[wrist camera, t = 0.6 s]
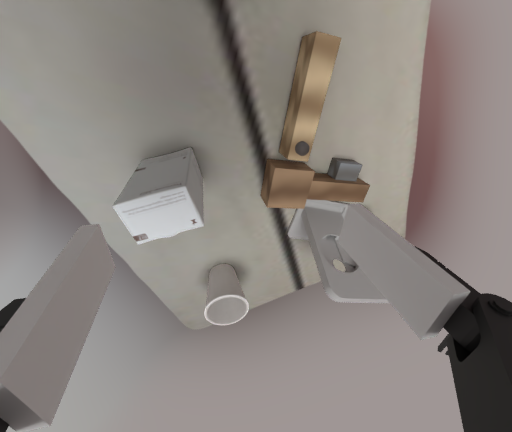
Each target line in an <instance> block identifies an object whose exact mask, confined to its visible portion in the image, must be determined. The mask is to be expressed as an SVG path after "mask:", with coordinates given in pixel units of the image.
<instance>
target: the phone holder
mask: <svg viewBox="0 0 512 432" xmlns="http://www.w3.org/2000/svg"><path fill="white" fill-rule="evenodd" d="M347 208H348V204H347V203H342V202H337V201H328V200H310V199H307V201H306V204H305V207H304V209H296V211H295V213H294V216H293V218H292V221H291V223H290V225H289V228H288V233H287V234H288V236H289V237H290V238H295V239H303V240H309V242H310V245H311V248H312V252H313V255H314V258H315V262H316V265H317V268H318V271H319V275H320V278H321V281H322V284H323V288H324V290H325V292H326V294H327V295H328V297H329V298H331V299H332V300H333V301H336V302H356V303H389V302H388V300H387V299H386V298H385V297H384V296H383V294H382V293H381V292H380V291H379V290H378V289H377V287H376V286H375V285H374V284H373V283H372V281H371V280H370V279H369V278H368V277H367V275H366V274H365V273H364V272H363V271H362V270H361V268H360V267H359V266H358V265H357V264H356V262H355V261H354V260H353V259H352V258H351V257H350V255H349V254H348V253H347V252H346V251H345V249H344V248H343V247H342V246H341V245H340V243H339V242H338V239H339V236H340V232H341V229H342V225H343V222H344V218H345V215H346V211H347ZM366 209H367V208H366ZM334 259H337V260H339V261H341V262H342V263H343V264H344V266H345V268H346V271H345V272H342V271H340V270H338V269H336V268H335V267H334V265H333V260H334Z"/></svg>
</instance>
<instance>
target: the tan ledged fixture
mask: <svg viewBox="0 0 512 432" xmlns="http://www.w3.org/2000/svg"><path fill="white" fill-rule="evenodd" d="M361 168H362V165H361V164H359V163H357V162H356V161H354V160H347V159H338V158H332V161H331V164H330V167H329V170H328V173H327V174H321V173H315V171H314V170H313V169H311V168H310V167H309V166H307V165H306V164H305V163H303V162H293V161H283V160H273V159H267V163H266V168H265V174H264V179H263V184H262V190H261V197H262V199H263V201H264V203H265V204H266V206H267V207H272V208H296V209H304V207H305V204H306V201H307V199H310V200H328V201H347V202H363V201H364V198H365V196H366V194H367V191H368V189H369V187H370V185H369V184H367V183H365V182H364V181H362V180H361V179H359V178H358V175H359V173H360V170H361Z"/></svg>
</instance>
